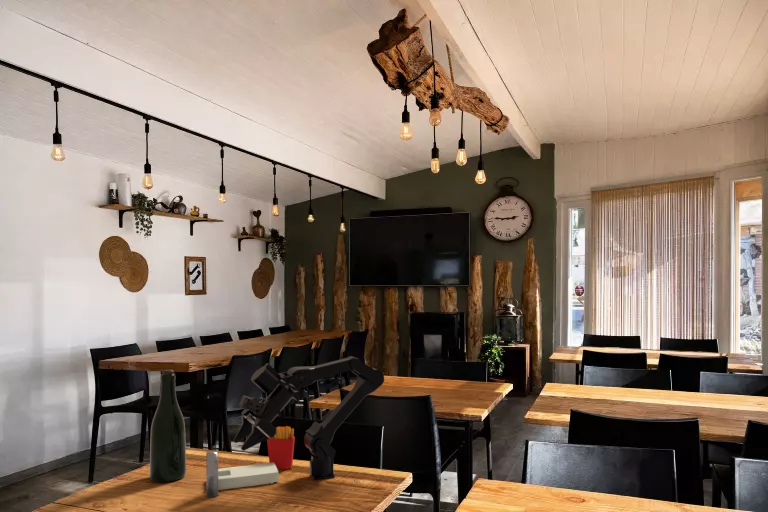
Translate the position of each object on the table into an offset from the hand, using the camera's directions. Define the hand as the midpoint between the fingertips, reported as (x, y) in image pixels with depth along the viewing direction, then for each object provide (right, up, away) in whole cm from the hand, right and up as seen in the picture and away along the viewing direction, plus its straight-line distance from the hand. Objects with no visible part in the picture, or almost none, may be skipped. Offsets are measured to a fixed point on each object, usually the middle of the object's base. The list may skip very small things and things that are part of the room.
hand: (238, 445), depth 164 cm
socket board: (0, -13, +8) cm, 15 cm away
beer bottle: (-25, -14, +12) cm, 31 cm away
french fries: (+9, -14, +20) cm, 26 cm away
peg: (-6, -13, -4) cm, 15 cm away
